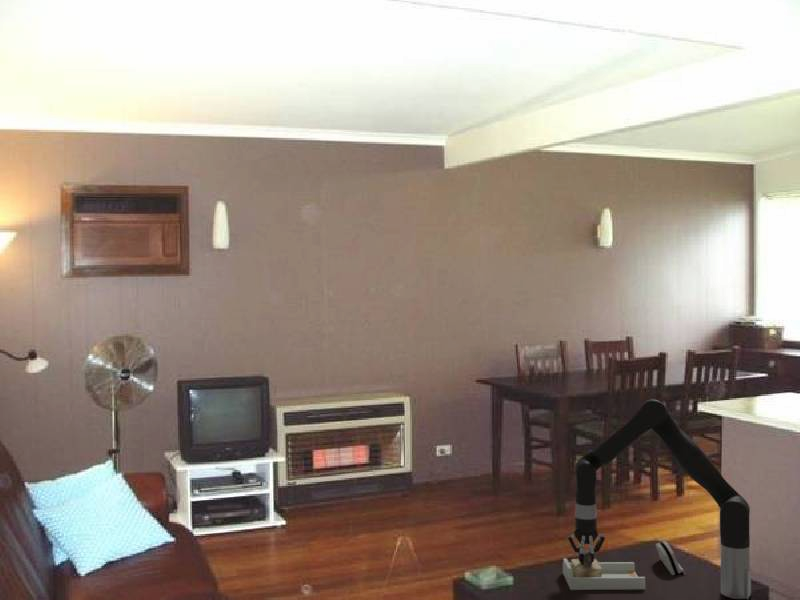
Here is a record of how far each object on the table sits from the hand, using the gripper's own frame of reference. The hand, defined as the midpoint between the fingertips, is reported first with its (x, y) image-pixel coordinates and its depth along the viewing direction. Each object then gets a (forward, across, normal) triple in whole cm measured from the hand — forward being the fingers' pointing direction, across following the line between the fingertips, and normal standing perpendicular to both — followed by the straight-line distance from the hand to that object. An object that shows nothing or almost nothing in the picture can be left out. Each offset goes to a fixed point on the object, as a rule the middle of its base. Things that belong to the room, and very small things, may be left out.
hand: (586, 563), depth 299 cm
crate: (+5, 0, 0) cm, 5 cm away
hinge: (+7, -34, -14) cm, 37 cm away
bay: (+7, -6, 0) cm, 9 cm away
